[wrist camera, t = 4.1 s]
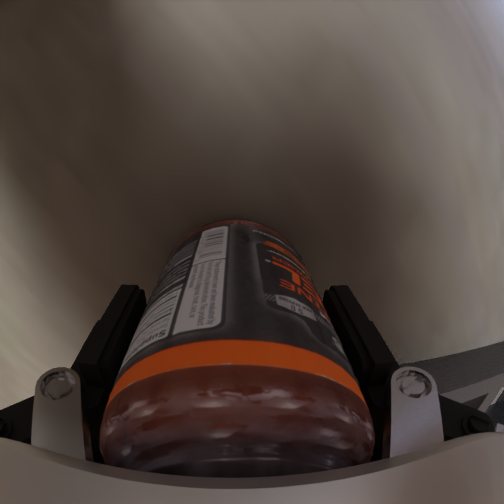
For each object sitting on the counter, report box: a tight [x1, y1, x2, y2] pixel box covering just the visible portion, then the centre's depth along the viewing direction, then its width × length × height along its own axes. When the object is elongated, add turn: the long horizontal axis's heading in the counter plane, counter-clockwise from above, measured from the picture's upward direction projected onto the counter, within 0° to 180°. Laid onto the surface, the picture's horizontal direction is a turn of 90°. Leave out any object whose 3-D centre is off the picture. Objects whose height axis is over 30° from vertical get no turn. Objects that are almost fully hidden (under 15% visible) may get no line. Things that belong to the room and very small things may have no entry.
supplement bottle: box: [99, 219, 375, 478], centre depth 8 cm, size 6×6×11 cm
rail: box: [399, 341, 504, 426], centre depth 17 cm, size 29×11×3 cm, turn 88°
